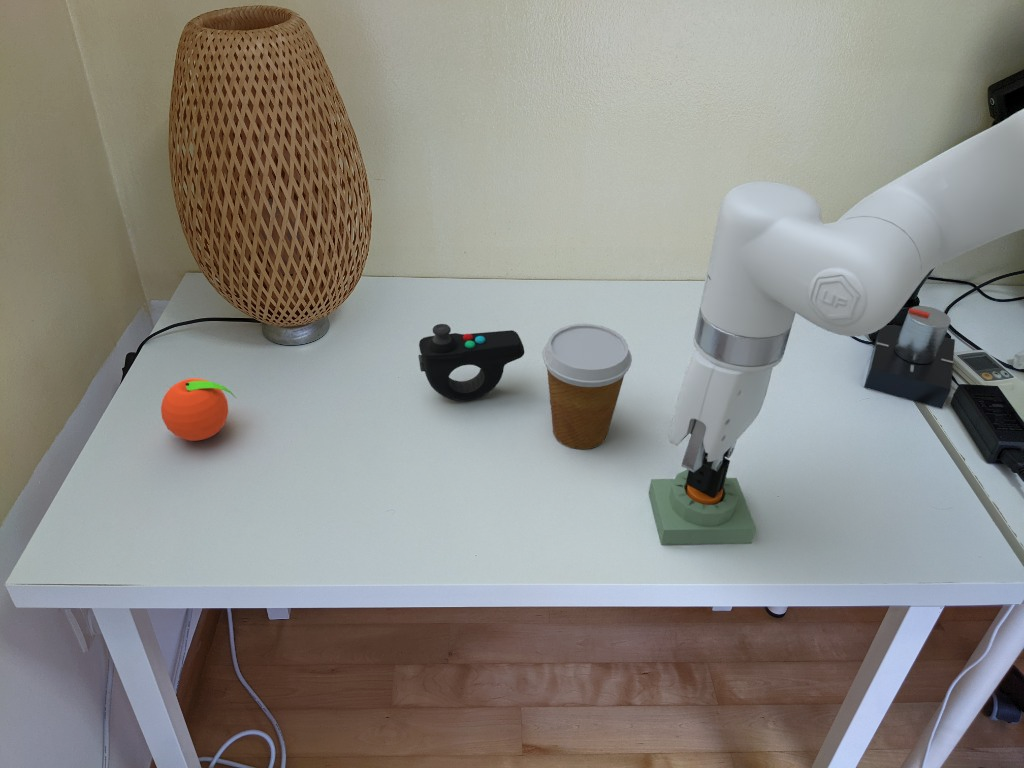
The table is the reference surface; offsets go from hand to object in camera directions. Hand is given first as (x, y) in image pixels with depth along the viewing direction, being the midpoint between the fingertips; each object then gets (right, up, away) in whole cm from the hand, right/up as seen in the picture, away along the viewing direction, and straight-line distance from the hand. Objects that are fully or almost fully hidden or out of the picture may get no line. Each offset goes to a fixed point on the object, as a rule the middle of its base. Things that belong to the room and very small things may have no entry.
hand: (704, 486), depth 76 cm
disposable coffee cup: (-11, +4, +13) cm, 18 cm away
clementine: (-54, +4, +12) cm, 55 cm away
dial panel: (+32, +12, +23) cm, 41 cm away
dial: (+32, +14, +21) cm, 41 cm away
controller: (-24, +9, +18) cm, 31 cm away
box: (0, -4, +3) cm, 4 cm away
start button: (0, -2, +1) cm, 2 cm away
